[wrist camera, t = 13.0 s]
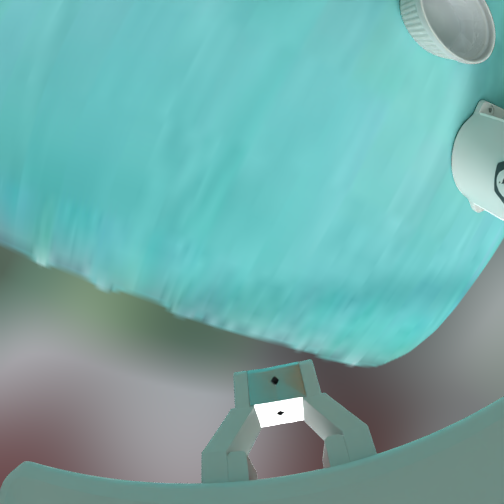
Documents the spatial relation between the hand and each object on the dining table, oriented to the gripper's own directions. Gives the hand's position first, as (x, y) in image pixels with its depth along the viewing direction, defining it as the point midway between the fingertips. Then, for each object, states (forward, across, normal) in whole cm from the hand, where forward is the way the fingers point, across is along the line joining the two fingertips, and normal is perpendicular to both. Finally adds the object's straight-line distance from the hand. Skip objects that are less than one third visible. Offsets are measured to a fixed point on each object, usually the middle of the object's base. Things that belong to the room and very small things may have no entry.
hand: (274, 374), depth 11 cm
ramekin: (+30, -29, -19) cm, 46 cm away
